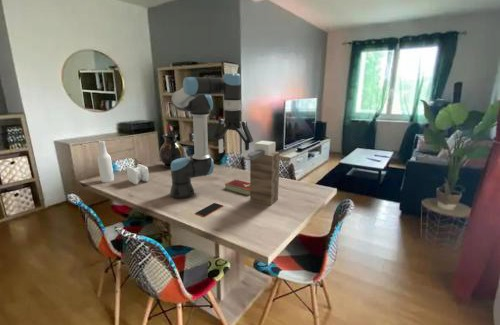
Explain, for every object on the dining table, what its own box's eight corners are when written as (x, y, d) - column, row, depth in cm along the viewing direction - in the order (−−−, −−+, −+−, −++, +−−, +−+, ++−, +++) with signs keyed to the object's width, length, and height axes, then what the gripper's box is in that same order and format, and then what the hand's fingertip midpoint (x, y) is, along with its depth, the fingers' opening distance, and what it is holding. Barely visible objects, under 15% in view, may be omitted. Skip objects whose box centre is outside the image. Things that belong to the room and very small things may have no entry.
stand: (270, 205, 154) (272, 156, 146) (250, 200, 161) (250, 153, 153) (278, 199, 163) (279, 152, 155) (258, 195, 170) (258, 149, 161)
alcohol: (100, 180, 197) (93, 141, 189) (112, 178, 202) (107, 139, 194) (102, 183, 191) (95, 142, 183) (115, 181, 196) (109, 141, 188)
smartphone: (194, 214, 144) (194, 213, 144) (214, 203, 158) (214, 202, 158) (204, 218, 140) (204, 216, 140) (224, 206, 154) (224, 205, 154)
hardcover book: (235, 184, 190) (235, 178, 189) (259, 190, 179) (259, 184, 178) (224, 189, 181) (224, 183, 180) (249, 196, 169) (249, 190, 168)
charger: (254, 161, 135) (254, 150, 133) (239, 159, 139) (239, 148, 138) (275, 152, 155) (275, 142, 154) (261, 150, 160) (261, 140, 158)
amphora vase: (188, 167, 231) (186, 135, 223) (163, 171, 220) (160, 137, 212) (181, 161, 248) (178, 132, 241) (157, 165, 237) (154, 134, 230)
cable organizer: (127, 180, 196) (125, 166, 193) (141, 177, 204) (139, 163, 201) (136, 185, 187) (134, 170, 183) (150, 182, 194) (148, 166, 191)
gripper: (205, 108, 121) (207, 152, 128) (252, 112, 110) (252, 160, 117) (214, 106, 128) (216, 149, 134) (260, 110, 116) (259, 156, 123)
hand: (232, 154), depth 126 cm, fingers open, 13 cm apart
